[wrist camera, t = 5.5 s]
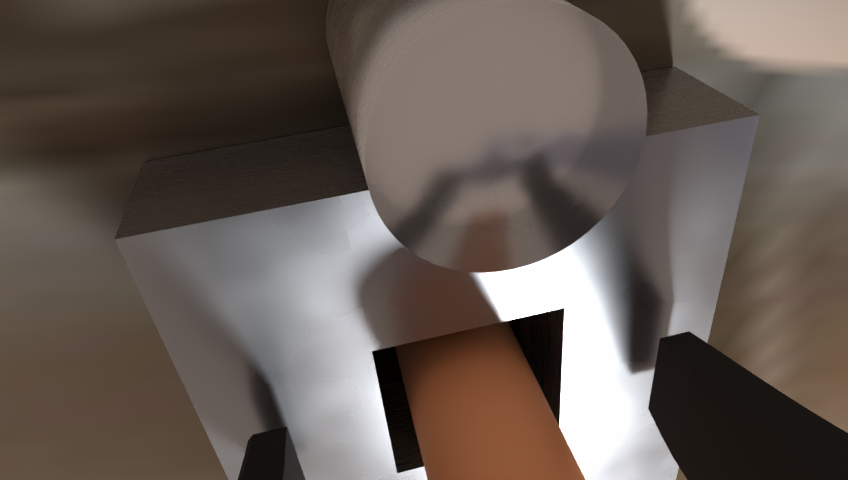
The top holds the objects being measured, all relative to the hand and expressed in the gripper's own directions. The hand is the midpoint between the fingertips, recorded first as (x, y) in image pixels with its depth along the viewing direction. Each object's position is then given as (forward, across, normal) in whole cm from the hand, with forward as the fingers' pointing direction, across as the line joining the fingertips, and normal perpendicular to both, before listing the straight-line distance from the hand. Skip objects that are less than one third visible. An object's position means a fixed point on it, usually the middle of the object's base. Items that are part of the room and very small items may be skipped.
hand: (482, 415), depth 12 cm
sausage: (+3, 0, 0) cm, 3 cm away
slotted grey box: (+3, 0, -2) cm, 3 cm away
